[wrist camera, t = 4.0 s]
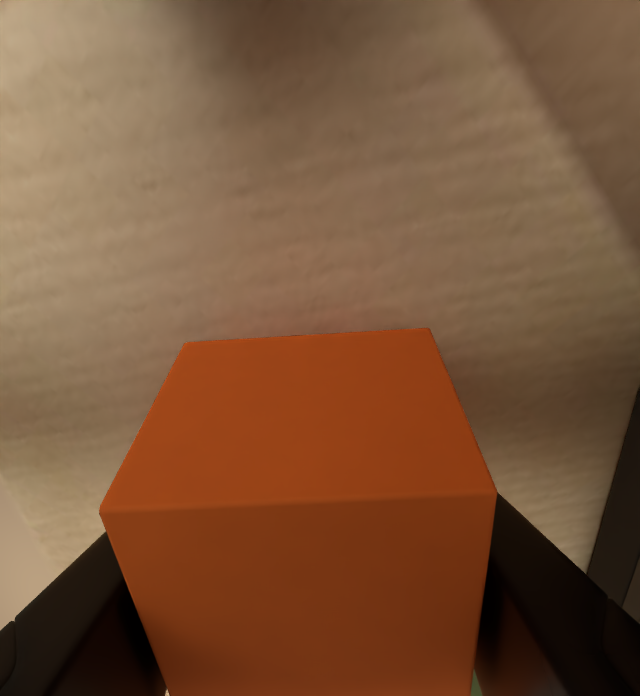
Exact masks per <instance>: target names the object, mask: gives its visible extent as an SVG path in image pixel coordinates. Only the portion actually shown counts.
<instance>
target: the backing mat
mask: <svg viewBox="0 0 640 696" xmlns="http://www.w3.org/2000/svg"><path fill="white" fill-rule="evenodd" d="M587 576H588V577H589V578H590V579H591V580H592V581H594V582H595V583H596V584H597V585H598V586H599V587H600V588H601V589H602V590H603V591H604V592H605V593H606V594H607V595H608V599H609V598H611V599H613V600H614V601H615V602H616V603H617V604H619V605H620V606H621V607H622V608H623V609H624V610H625V611H626V612H627V613H628V614H629V615H630V616H631V617H633V618H634V619H635V620H636V621H637V622H638V623H639V624H640V388H639V391H638V395H637V398H636V402H635V406H634V409H633V413H632V416H631V420H630V424H629V427H628V431H627V435H626V438H625V442H624V445H623V449H622V453H621V456H620V460H619V463H618V467H617V471H616V474H615V478H614V481H613V485H612V489H611V492H610V496H609V499H608V503H607V507H606V510H605V514H604V517H603V521H602V525H601V528H600V532H599V536H598V539H597V543H596V546H595V550H594V554H593V557H592V561H591V564H590V568H589V572H588V575H587Z"/></svg>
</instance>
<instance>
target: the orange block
mask: <svg viewBox="0 0 640 696" xmlns="http://www.w3.org/2000/svg"><path fill="white" fill-rule="evenodd" d="M496 498H497V489H496V487H495V484H494V482H493V480H492V477H491V475H490V472H489V470H488V468H487V465H486V463H485V460H484V458H483V456H482V453H481V451H480V448H479V446H478V444H477V441H476V439H475V436H474V434H473V432H472V429H471V427H470V424H469V422H468V420H467V417H466V415H465V412H464V410H463V408H462V405H461V403H460V400H459V398H458V396H457V393H456V391H455V388H454V386H453V384H452V381H451V379H450V376H449V374H448V372H447V369H446V367H445V364H444V362H443V360H442V357H441V355H440V352H439V350H438V348H437V345H436V343H435V340H434V338H433V336H432V333H431V331H430V329H429V328H416V329H399V330H382V331H365V332H349V333H332V334H315V335H298V336H282V337H265V338H248V339H232V340H215V341H198V342H187V343H184V345H183V347H182V349H181V351H180V353H179V355H178V356H177V358H176V360H175V362H174V364H173V366H172V368H171V370H170V372H169V374H168V376H167V378H166V380H165V382H164V384H163V385H162V387H161V389H160V391H159V393H158V395H157V397H156V399H155V401H154V403H153V405H152V407H151V409H150V411H149V413H148V414H147V416H146V418H145V420H144V422H143V424H142V426H141V428H140V430H139V432H138V434H137V436H136V438H135V440H134V442H133V443H132V445H131V447H130V449H129V451H128V453H127V455H126V457H125V459H124V461H123V463H122V465H121V467H120V469H119V471H118V472H117V474H116V476H115V478H114V480H113V482H112V484H111V486H110V488H109V490H108V492H107V494H106V496H105V498H104V500H103V501H102V503H101V505H100V509H99V514H100V517H101V519H102V522H103V524H104V527H105V529H106V532H107V535H108V537H109V540H110V542H111V545H112V547H113V550H114V553H115V555H116V558H117V560H118V563H119V566H120V568H121V571H122V573H123V576H124V578H125V581H126V584H127V586H128V589H129V591H130V594H131V597H132V599H133V602H134V604H135V607H136V609H137V612H138V615H139V617H140V620H141V622H142V625H143V628H144V630H145V633H146V635H147V638H148V640H149V643H150V646H151V648H152V651H153V653H154V656H155V658H156V661H157V664H158V666H159V669H160V671H161V674H162V677H163V679H164V682H165V684H166V687H167V689H168V692H169V695H170V696H470V695H471V687H472V680H473V672H474V665H475V657H476V650H477V642H478V634H479V627H480V619H481V612H482V604H483V597H484V589H485V581H486V574H487V566H488V559H489V551H490V544H491V536H492V528H493V521H494V513H495V506H496Z"/></svg>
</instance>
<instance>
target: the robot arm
mask: <svg viewBox="0 0 640 696" xmlns="http://www.w3.org/2000/svg"><path fill="white" fill-rule="evenodd" d="M474 670H475V674H476V677H477V680H478V684H479V687H480V690H481V694H482V696H640V624H639V623H638V622H637V621H636V620H635V619H634V618H633V617H631V616H630V615H629V614H628V613H627V612H626V611H625V610H624V609H623V608H622V607H621V606H620V605H619V604H617V603H616V602H615V601H614V600H613V599H611V598H609V599H608V595H607V594H606V593H605V592H604V591H603V590H602V589H601V588H600V587H599V586H598V585H597V584H596V583H595V582H594V581H592V580H591V579H590V578H589V577H588V576H587V575H586V574H585V573H584V572H583V571H582V570H581V569H580V568H579V567H577V566H576V565H575V564H574V563H573V562H572V561H571V560H570V559H569V558H568V557H567V556H566V555H565V554H563V553H562V552H561V551H560V550H559V549H558V548H557V547H556V546H555V545H554V544H553V543H552V542H551V541H549V540H548V539H547V538H546V537H545V536H544V535H543V534H542V533H541V532H540V531H539V530H538V529H537V528H536V527H534V526H533V525H532V524H531V523H530V522H529V521H528V520H527V519H526V518H525V517H524V516H523V515H522V514H520V513H519V512H518V511H517V510H516V509H515V508H514V507H513V506H512V505H511V504H510V503H509V502H508V501H506V500H505V499H504V498H503V497H502V496H501V495H500V494H499V493H498V492H497V498H496V506H495V513H494V521H493V528H492V536H491V544H490V551H489V559H488V566H487V574H486V581H485V589H484V597H483V604H482V612H481V619H480V627H479V634H478V642H477V650H476V657H475V665H474ZM166 689H167V687H166V684H165V682H164V679H163V677H162V674H161V671H160V669H159V666H158V664H157V661H156V658H155V656H154V653H153V651H152V648H151V646H150V643H149V640H148V638H147V635H146V633H145V630H144V628H143V625H142V622H141V620H140V617H139V615H138V612H137V609H136V607H135V604H134V602H133V599H132V597H131V594H130V591H129V589H128V586H127V584H126V581H125V578H124V576H123V573H122V571H121V568H120V566H119V563H118V560H117V558H116V555H115V553H114V550H113V547H112V545H111V542H110V540H109V537H108V535H107V532H105V533H104V534H103V535H101V536H100V537H99V538H98V539H97V540H96V541H95V542H94V543H93V544H92V545H91V546H90V547H89V548H88V549H87V550H86V551H85V552H83V553H82V554H81V555H80V556H79V557H78V558H77V559H76V560H75V561H74V562H73V563H72V564H71V565H70V566H69V567H68V568H67V569H65V570H64V571H63V572H62V573H61V574H60V575H59V576H58V577H57V578H56V579H55V580H54V581H53V582H52V583H51V584H50V585H49V586H47V588H46V589H44V590H43V591H42V592H41V593H40V594H39V595H38V596H37V597H36V598H35V599H34V600H33V601H32V602H31V603H29V604H28V606H26V607H25V608H24V609H23V610H22V611H21V612H20V613H19V614H18V615H17V616H16V617H15V622H14V621H11V622H9V623H8V624H7V625H6V626H5V627H4V628H3V629H2V630H1V631H0V696H165V693H166Z"/></svg>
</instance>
